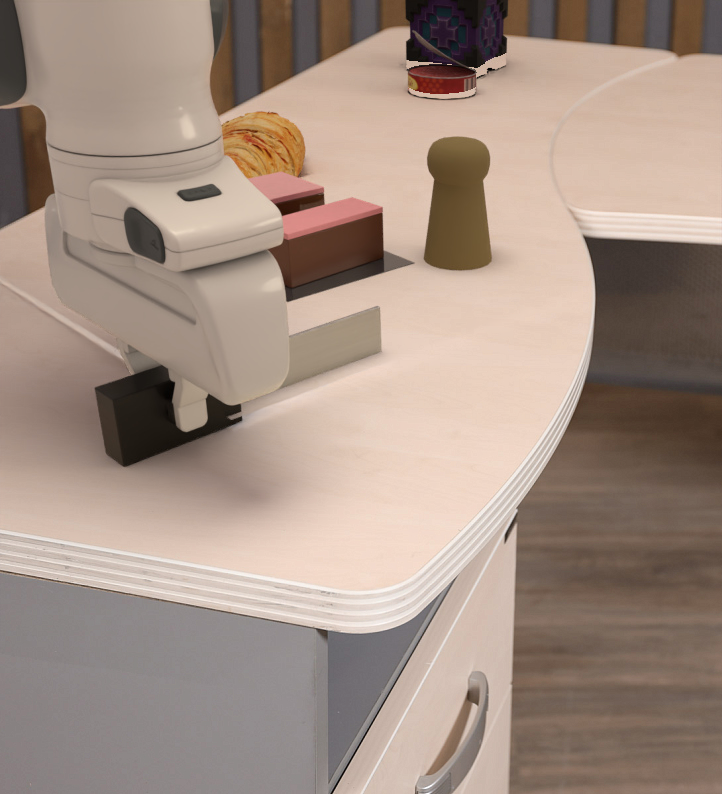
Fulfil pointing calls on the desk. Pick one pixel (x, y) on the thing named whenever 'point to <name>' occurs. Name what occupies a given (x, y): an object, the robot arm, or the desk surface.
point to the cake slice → (329, 240)
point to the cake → (304, 195)
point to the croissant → (264, 144)
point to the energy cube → (457, 30)
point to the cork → (458, 205)
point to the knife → (146, 392)
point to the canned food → (440, 75)
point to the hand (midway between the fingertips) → (172, 414)
